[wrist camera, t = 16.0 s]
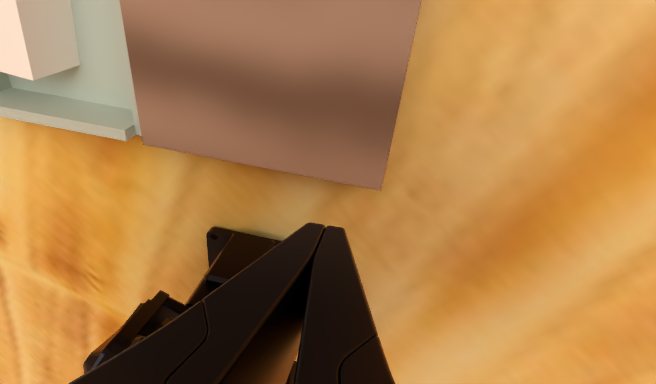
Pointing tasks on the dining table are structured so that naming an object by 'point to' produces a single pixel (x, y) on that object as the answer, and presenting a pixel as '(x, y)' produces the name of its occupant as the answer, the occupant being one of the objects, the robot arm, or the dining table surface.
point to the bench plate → (273, 81)
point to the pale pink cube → (37, 38)
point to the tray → (82, 81)
